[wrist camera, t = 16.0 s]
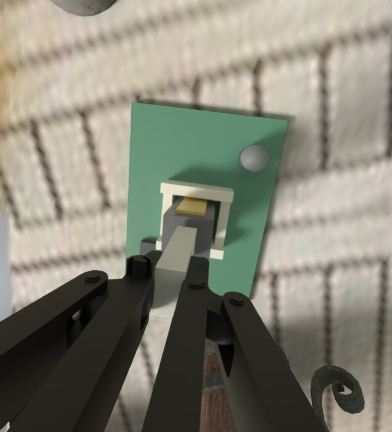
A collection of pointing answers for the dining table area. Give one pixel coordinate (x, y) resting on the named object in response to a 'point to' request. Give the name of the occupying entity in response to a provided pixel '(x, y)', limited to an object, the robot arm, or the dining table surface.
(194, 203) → the plug
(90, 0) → the pillar candle
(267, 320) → the dining table surface
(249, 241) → the board
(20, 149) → the dining table surface
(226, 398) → the tankard
